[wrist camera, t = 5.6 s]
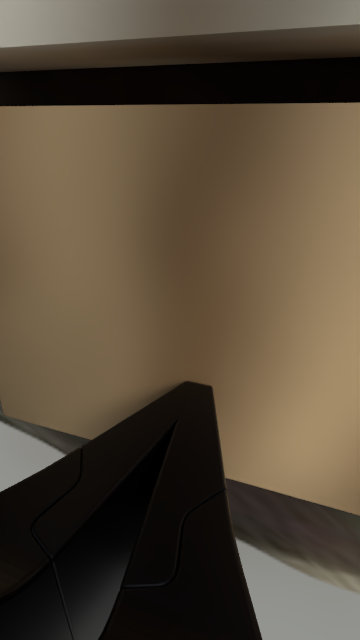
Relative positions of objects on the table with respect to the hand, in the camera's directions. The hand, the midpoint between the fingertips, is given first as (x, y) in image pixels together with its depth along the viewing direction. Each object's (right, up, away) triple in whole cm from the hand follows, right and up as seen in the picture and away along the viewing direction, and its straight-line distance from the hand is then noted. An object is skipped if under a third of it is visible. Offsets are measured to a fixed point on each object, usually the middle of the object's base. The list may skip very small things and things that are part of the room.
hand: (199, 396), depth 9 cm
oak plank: (+1, +3, +1) cm, 3 cm away
